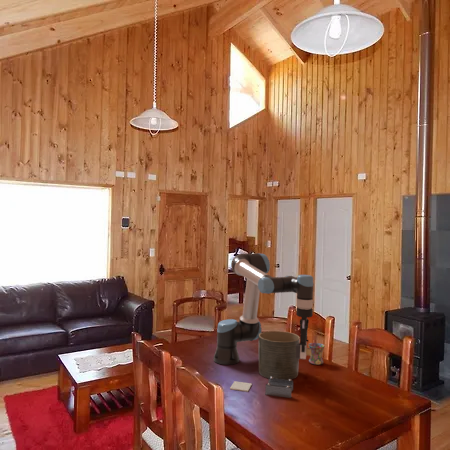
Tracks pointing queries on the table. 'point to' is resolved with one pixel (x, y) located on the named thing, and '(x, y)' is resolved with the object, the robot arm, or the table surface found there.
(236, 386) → the coaster
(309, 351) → the plug
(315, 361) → the mug
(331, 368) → the table surface
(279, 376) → the planter
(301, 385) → the table surface
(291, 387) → the shaft channel
